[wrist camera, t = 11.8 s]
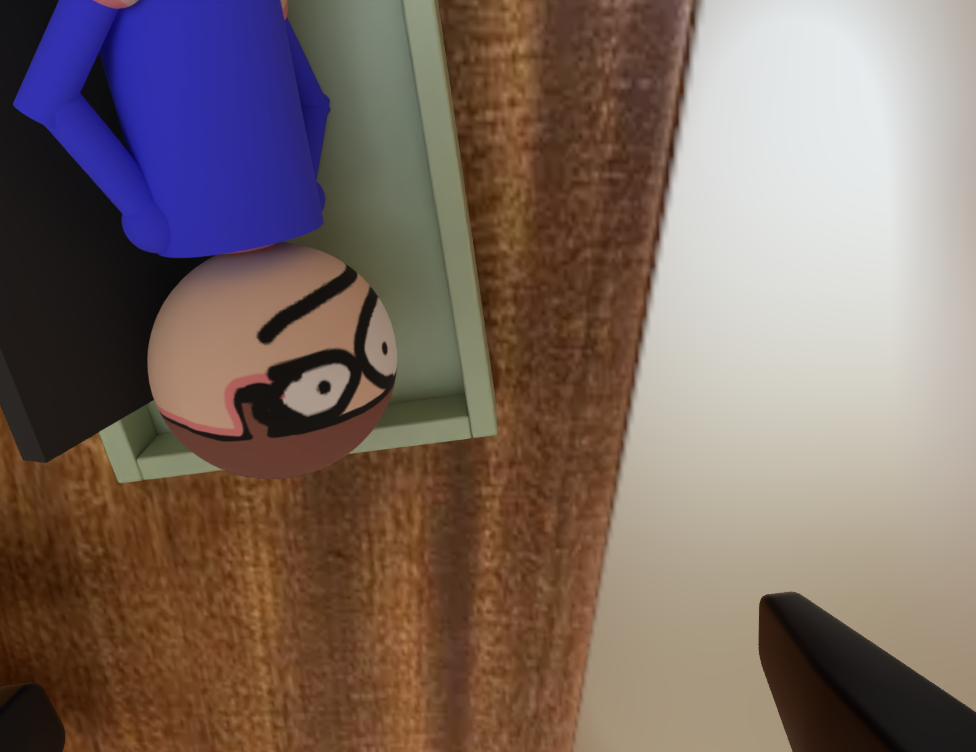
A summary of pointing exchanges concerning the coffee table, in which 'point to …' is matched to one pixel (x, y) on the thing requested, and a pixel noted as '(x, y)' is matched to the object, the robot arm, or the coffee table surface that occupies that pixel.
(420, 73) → the tray
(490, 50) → the coffee table surface
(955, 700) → the robot arm
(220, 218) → the character figurine
